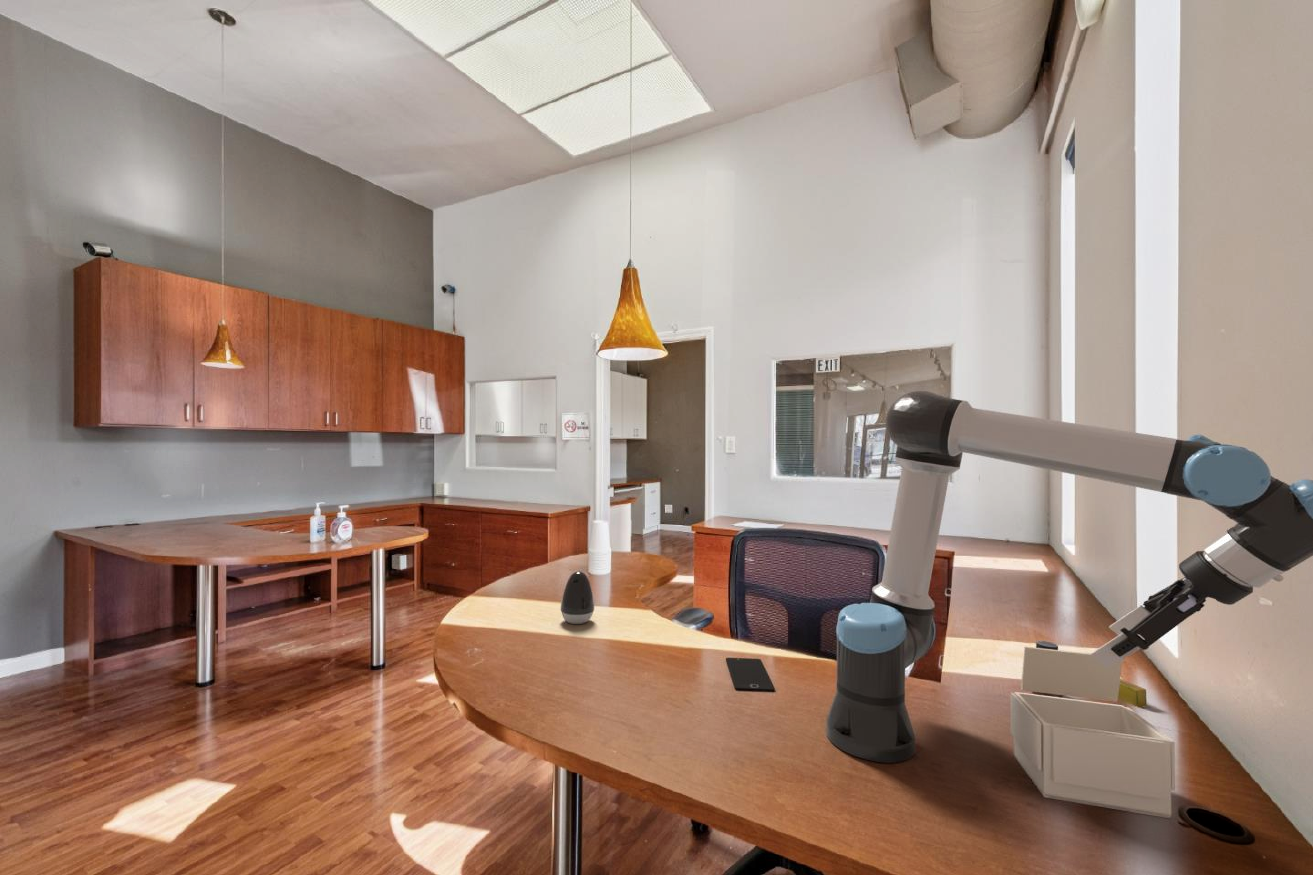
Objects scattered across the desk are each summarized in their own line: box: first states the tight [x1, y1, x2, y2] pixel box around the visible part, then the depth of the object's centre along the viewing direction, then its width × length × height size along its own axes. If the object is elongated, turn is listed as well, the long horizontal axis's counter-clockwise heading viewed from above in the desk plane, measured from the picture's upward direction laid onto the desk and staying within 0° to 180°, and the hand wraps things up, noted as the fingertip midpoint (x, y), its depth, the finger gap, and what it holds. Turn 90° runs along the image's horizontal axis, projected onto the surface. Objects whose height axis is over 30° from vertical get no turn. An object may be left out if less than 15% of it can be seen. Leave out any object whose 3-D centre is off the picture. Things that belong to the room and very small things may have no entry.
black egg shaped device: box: [560, 570, 595, 625], centre depth 162 cm, size 10×10×15 cm
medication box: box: [1118, 678, 1148, 708], centre depth 120 cm, size 12×3×4 cm, turn 9°
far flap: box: [1020, 646, 1123, 703], centre depth 91 cm, size 14×8×1 cm
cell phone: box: [725, 657, 776, 693], centre depth 126 cm, size 9×18×1 cm, turn 179°
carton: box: [1010, 691, 1176, 819], centre depth 85 cm, size 17×13×11 cm
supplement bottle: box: [1031, 640, 1064, 698], centre depth 119 cm, size 6×6×11 cm
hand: (1108, 646), depth 90 cm, fingers open, 13 cm apart
